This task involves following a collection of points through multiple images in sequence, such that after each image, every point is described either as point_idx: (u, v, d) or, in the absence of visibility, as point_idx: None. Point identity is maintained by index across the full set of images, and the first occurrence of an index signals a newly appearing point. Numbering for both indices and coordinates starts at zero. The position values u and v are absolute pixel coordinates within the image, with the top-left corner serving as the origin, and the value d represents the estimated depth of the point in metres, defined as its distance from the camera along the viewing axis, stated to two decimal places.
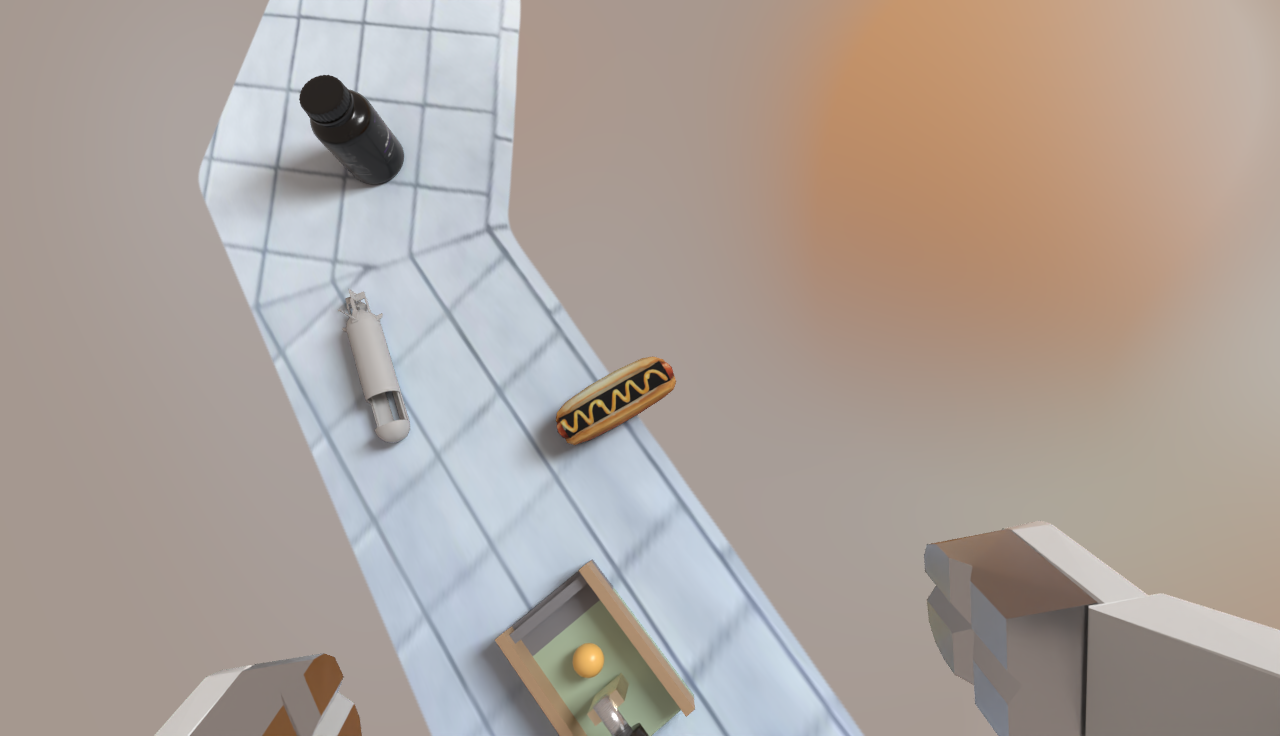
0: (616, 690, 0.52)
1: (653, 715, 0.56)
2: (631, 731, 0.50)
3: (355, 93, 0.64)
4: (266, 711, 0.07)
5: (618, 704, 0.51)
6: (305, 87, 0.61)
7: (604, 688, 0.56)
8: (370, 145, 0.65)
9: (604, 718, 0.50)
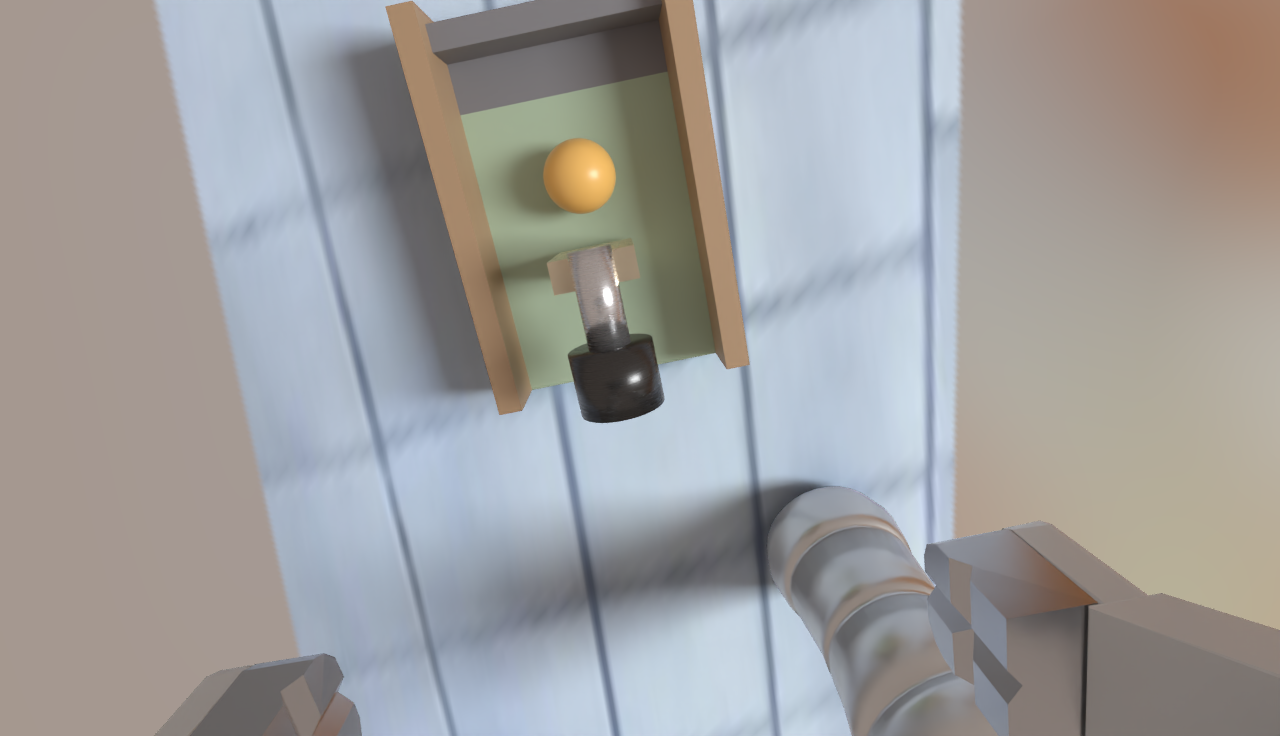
0: (633, 248, 0.21)
1: None
2: (629, 340, 0.22)
3: None
4: (266, 711, 0.07)
5: (624, 277, 0.22)
6: None
7: (587, 247, 0.26)
8: None
9: (585, 287, 0.21)
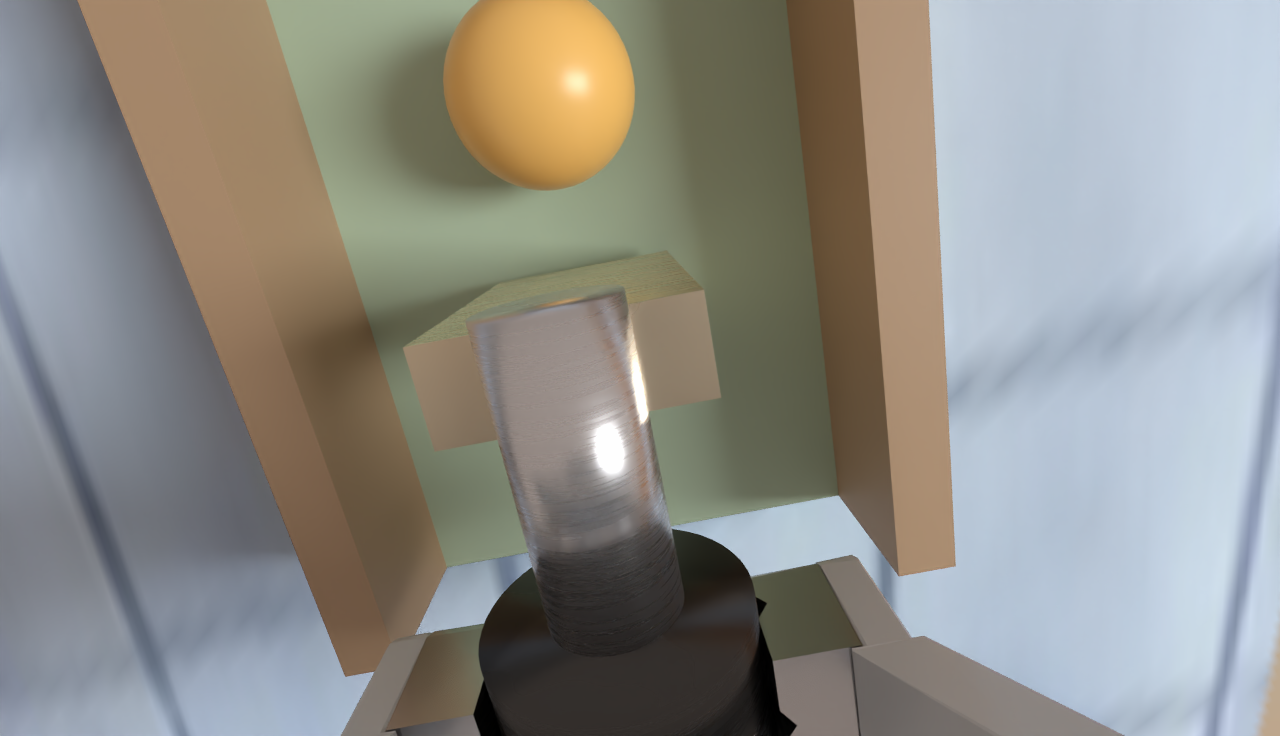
0: (701, 299, 0.06)
1: (700, 470, 0.13)
2: (680, 601, 0.07)
3: None
4: (472, 674, 0.07)
5: (668, 395, 0.06)
6: None
7: (561, 274, 0.11)
8: None
9: (531, 447, 0.06)
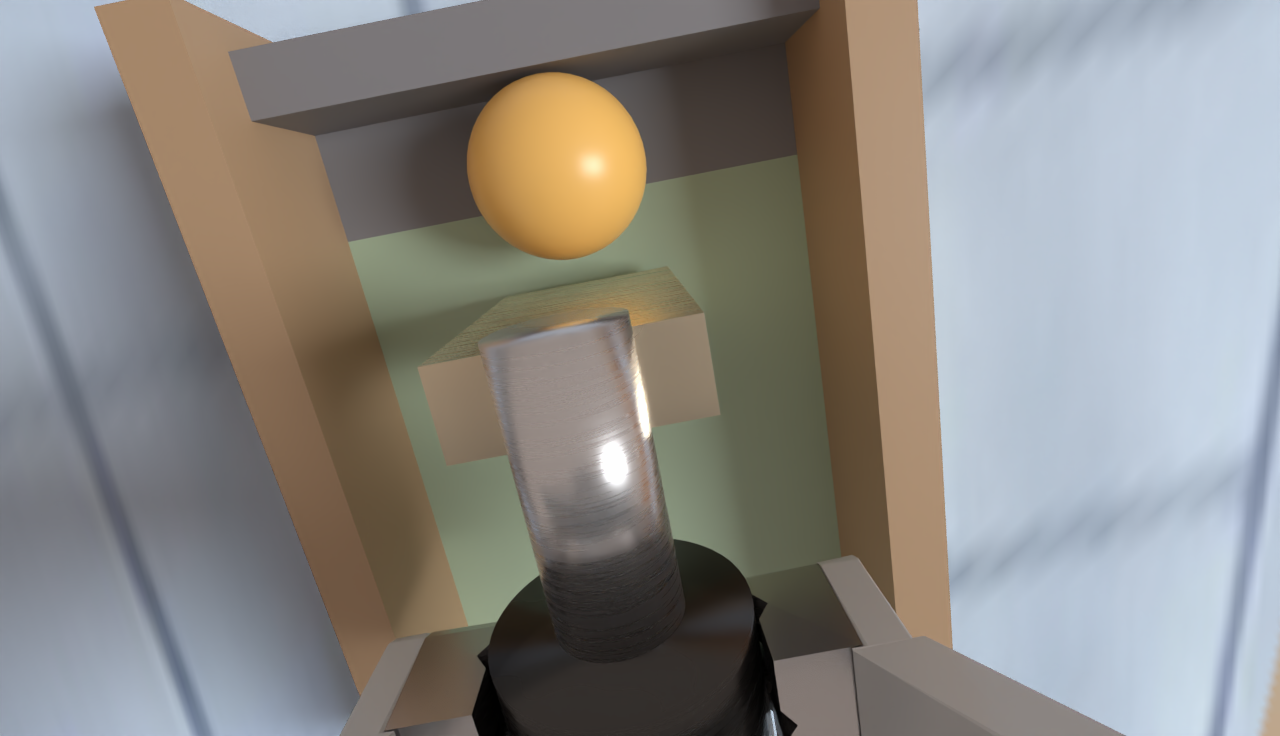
0: (701, 321, 0.07)
1: None
2: (681, 609, 0.07)
3: None
4: (470, 674, 0.07)
5: (670, 413, 0.07)
6: None
7: (565, 289, 0.11)
8: None
9: (540, 464, 0.06)
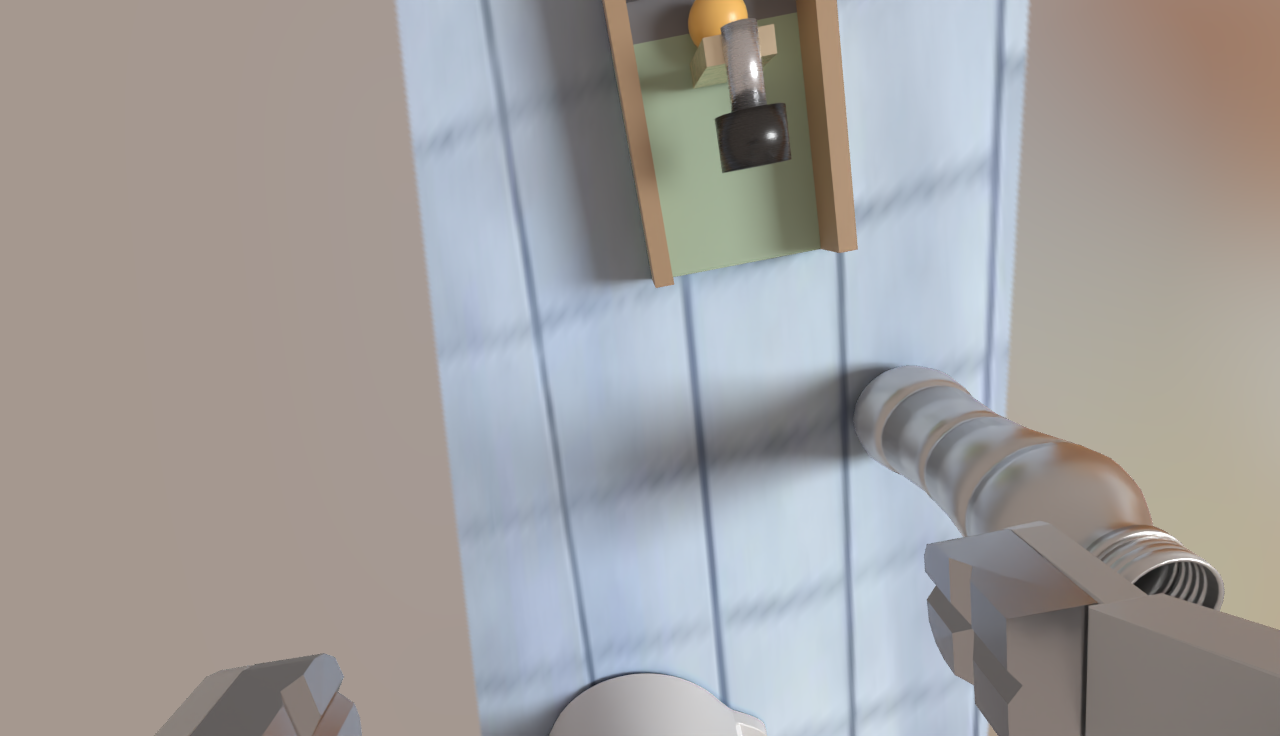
0: (772, 27, 0.26)
1: (768, 237, 0.34)
2: (766, 104, 0.27)
3: None
4: (266, 711, 0.07)
5: (764, 52, 0.27)
6: None
7: None
8: None
9: (737, 52, 0.26)
